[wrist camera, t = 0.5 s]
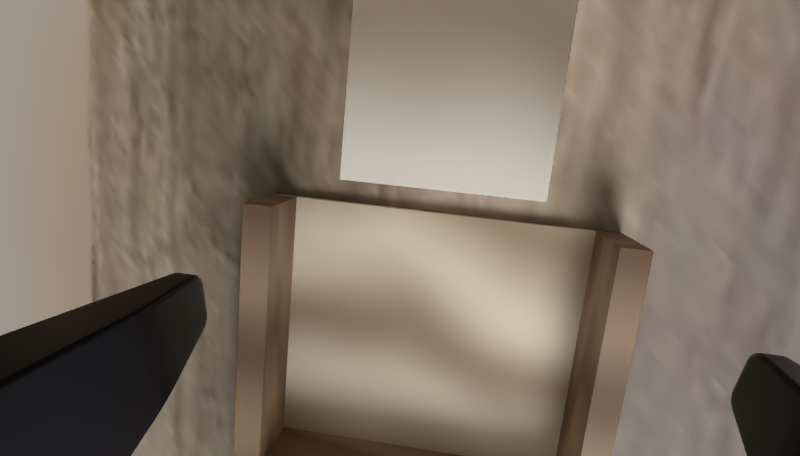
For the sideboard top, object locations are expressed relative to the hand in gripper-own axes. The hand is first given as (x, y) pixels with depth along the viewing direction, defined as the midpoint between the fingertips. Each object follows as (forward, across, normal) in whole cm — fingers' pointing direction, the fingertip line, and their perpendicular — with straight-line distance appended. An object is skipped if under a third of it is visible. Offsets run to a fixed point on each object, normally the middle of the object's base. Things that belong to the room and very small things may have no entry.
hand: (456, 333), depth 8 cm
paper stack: (+15, +1, 0) cm, 15 cm away
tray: (+12, +1, +10) cm, 16 cm away
